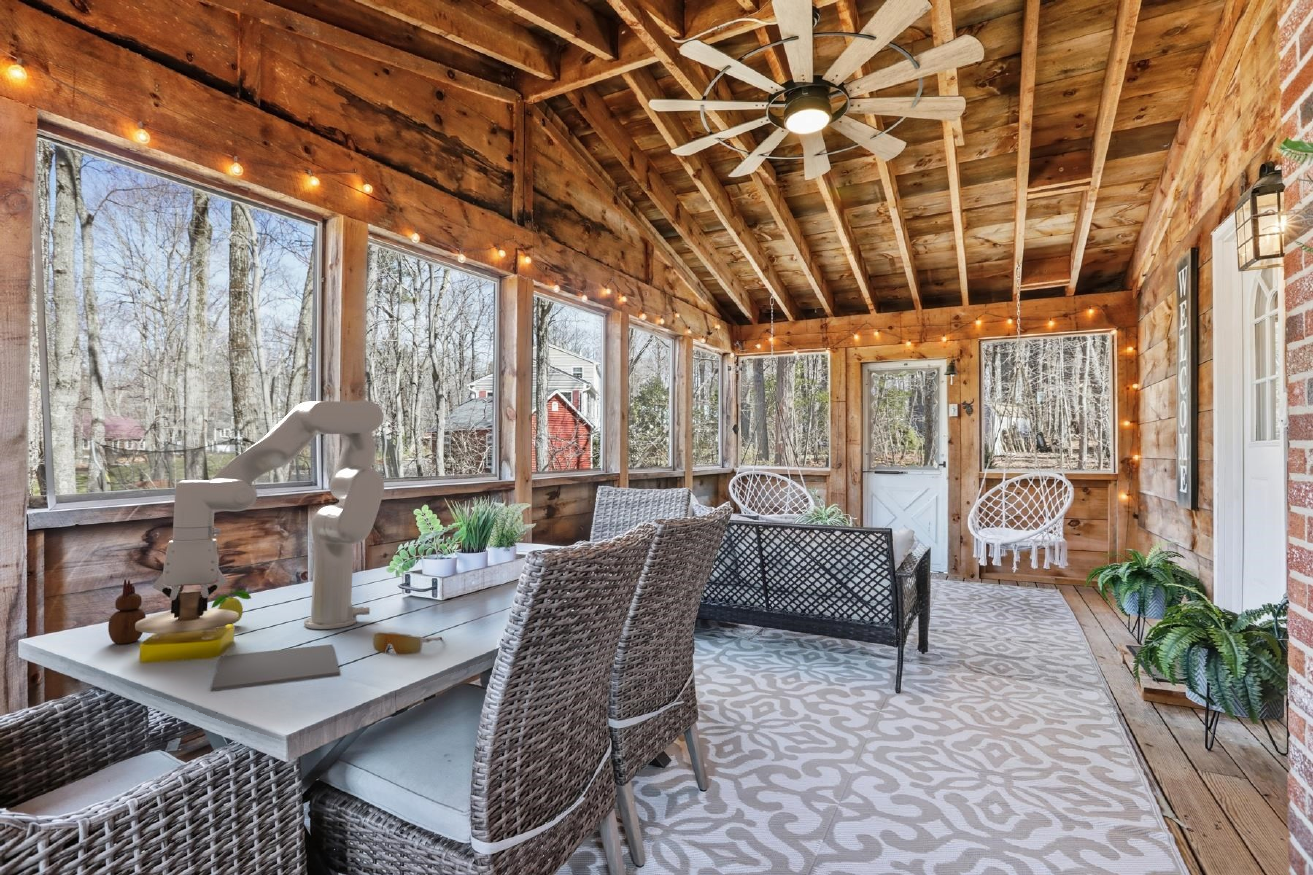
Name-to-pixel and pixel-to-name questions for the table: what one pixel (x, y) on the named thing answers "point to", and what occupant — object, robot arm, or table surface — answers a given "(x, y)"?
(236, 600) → the lemon
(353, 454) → the robot arm
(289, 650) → the mat
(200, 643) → the element tile
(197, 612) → the lid
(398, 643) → the sunglasses
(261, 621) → the table surface
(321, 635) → the table surface
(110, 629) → the wooden figurine
